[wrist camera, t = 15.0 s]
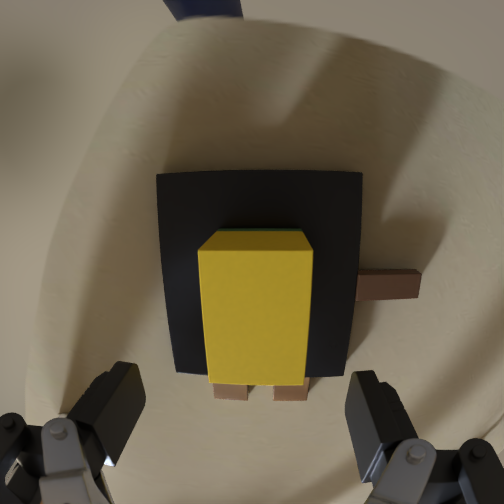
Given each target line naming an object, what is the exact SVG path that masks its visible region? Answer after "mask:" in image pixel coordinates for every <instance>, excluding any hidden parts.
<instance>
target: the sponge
mask: <svg viewBox="0 0 504 504" xmlns="http://www.w3.org/2000/svg"><path fill="white" fill-rule="evenodd" d="M198 262H199V277H200V291H201V304H202V316H203V328H204V338H205V349H206V358H207V368H208V376H209V383H221V384H240V385H304V378H305V368H306V358H307V347H308V335H309V321H310V307H311V290H312V271H313V249H312V247H311V246H310V244H309V242H308V240H307V238H306V237H305V235H304V233H303V231H302V230H301V229H276V228H248V229H218V230H217V231H216V232H215V233H214V234H213V235H212V236H211V237H210V238H209V239H208V240H207V241H206V242H205V243H204V244H203V245H202V246H201V247H200V248H199V249H198Z"/></svg>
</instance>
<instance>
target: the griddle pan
mask: <svg viewBox="0 0 504 504" xmlns="http://www.w3.org/2000/svg"><path fill="white" fill-rule="evenodd" d="M362 176H363V174H362V172H345V171H321V170H223V171H198V172H180V173H165V174H157V175H156V184H157V208H158V225H159V239H160V252H161V263H162V274H163V283H164V292H165V301H166V309H167V316H168V324H169V331H170V338H171V344H172V351H173V357H174V363H175V369H176V372H177V373H187V374H198V375H208V368H207V358H206V349H205V338H204V328H203V316H202V304H201V291H200V277H199V262H198V249H199V248H200V247H201V246H202V245H203V244H204V243H205V242H206V241H207V240H208V239H209V238H210V237H211V236H212V235H213V234H214V233H215V232H216V231H217V230H218V229H248V228H276V229H301V230H302V231H303V233H304V235H305V237H306V238H307V240H308V242H309V244H310V246H311V247H312V249H313V271H312V290H311V307H310V321H309V335H308V347H307V358H306V368H305V378H308V377H332V376H343V375H344V370H345V365H346V359H347V353H348V347H349V340H350V334H351V327H352V319H353V312H354V303H355V299H356V301H366V300H391V299H411V298H418V295H419V289H420V283H421V276H422V273H420V272H419V271H417V270H416V269H390V270H358V264H359V251H360V236H361V216H362Z"/></svg>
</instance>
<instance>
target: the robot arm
mask: <svg viewBox="0 0 504 504" xmlns="http://www.w3.org/2000/svg"><path fill="white" fill-rule="evenodd" d="M145 402H146V395H145V390H144V387H143V383H142V379H141V375H140V371H139V368H138V365H137V364H135V363H128V362H122V361H117V362H116V363H115V364H114V366H113V367H112V368H111V370H110V371H109V372H107V371H105V372H104V373H102V374H101V375H99V376H98V377H96V378H95V379H94V381H93V382H92V383H91V384H90V387H89V388H87V390H86V391H85V392H84V394H83V395H82V396H81V398H80V399H79V400H78V402H77V403H76V404H75V406H74V407H73V408H72V410H71V411H70V412H69V414H68V415H67V416H66V418H54V419H52V420H50V421H48V422H47V423H46V424H45V425H44V426H33V425H27V424H26V422H25V421H24V419H23V417H22V416H21V415H19V414H17V413H7V414H4V415H2V416H1V417H0V504H40V503H41V501H42V502H43V504H114V501H113V499H112V496H111V493H110V491H109V488H108V485H107V482H106V480H105V477H104V474H103V471H102V470H101V469H102V467H103V465H104V464H108V465H111V466H114V467H115V466H116V463H117V461H118V459H119V457H120V455H121V453H122V451H123V449H124V447H125V445H126V443H127V441H128V439H129V437H130V435H131V433H132V431H133V429H134V427H135V425H136V423H137V421H138V419H139V417H140V415H141V413H142V411H143V409H144V406H145ZM345 416H346V420H347V424H348V428H349V432H350V436H351V440H352V444H353V448H354V452H355V456H356V460H357V465H358V469H359V473H360V477H361V482H362V483H367V482H372V484H373V488H374V489H373V490H372V492H371V494H370V495H369V497H368V498H367V500H366V501H365V503H364V504H504V468H503V466H502V464H501V462H500V460H499V458H498V456H497V454H496V452H495V451H494V449H493V447H492V446H491V444H490V443H488V442H487V441H485V440H483V439H478V438H474V439H470V440H467V441H466V442H464V443H463V445H462V446H461V447H460V449H459V450H436V449H435V448H434V447H433V445H432V444H431V443H429V442H428V441H426V440H423V439H419V438H418V436H417V433H416V431H415V429H414V427H413V425H412V423H411V421H410V419H409V416H408V414H407V412H406V410H405V409H404V406H403V404H402V402H401V401H400V398H399V396H398V394H397V392H396V390H395V389H394V388H393V387H392V386H390V385H389V384H388V383H387V382H380V383H379V381H378V379H377V376H376V374H375V372H374V371H373V370H368V371H356V372H353V373H352V375H351V379H350V384H349V389H348V393H347V397H346V402H345ZM15 460H17V461H18V463H19V464H20V465H19V466H18V468H17V470H16V471H15V473H14V474H13V476H12V478H11V479H10V481H9V483H8V484H7V486H6V484H5V476H6V474H7V472H8V471H9V469H10V467H11V466H12V464H13V463H14V461H15Z"/></svg>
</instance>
